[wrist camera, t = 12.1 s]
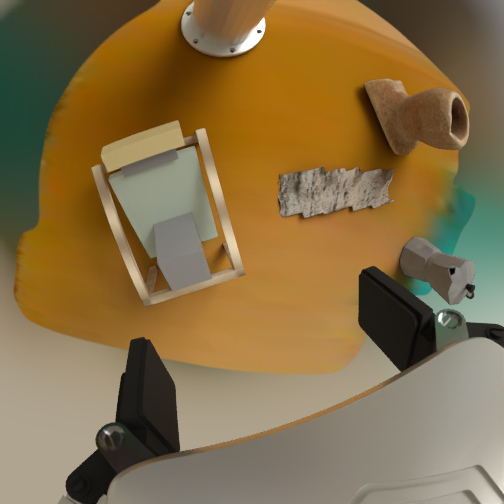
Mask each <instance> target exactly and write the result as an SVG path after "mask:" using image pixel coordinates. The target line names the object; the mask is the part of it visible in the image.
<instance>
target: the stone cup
mask: <svg viewBox="0 0 504 504" xmlns="http://www.w3.org/2000/svg"><path fill="white" fill-rule="evenodd" d="M364 85H365V88H366V91H367V93H368V96H369V98H370V100H371V103H372V105H373V108H374V110H375V112H376V114H377V117H378V119H379V122H380V124H381V127H382V129H383V131H384V134H385V136H386V138H387V140H388V143H389V145H390V147H391V149H392V150H393V152H394V153H395V154H397V155H404V154H407V153H409V152H411V151H412V150H414V149H415V148H416V146H417V145H418V143H419V141H421V142H424V143H425V144H428V145H430V146H432V147H435V148H439V149H446V150H459V149H461V148H462V147H463V146H464V145H465V144H466V142H467V139H468V135H469V119H468V114H467V110H466V107H465V104H464V102H463V100H462V98H461V97H460V96H459V95H458V93H456V92H455V91H452V90H449V89H443V88H434V89H430V90H427V91H424V92H421V93H418V94H416V95H412V96H409V95H408V94H407V93H406V90H405V88H404V86H403V84H402V82H401V81H399V80H398V81H393V80H389V79H378V80H372V81H368V82H366V83H364Z"/></svg>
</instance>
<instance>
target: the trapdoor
mask: <svg viewBox="0 0 504 504" xmlns="http://www.w3.org/2000/svg"><path fill="white" fill-rule="evenodd" d="M184 145H185V143H184V139H183V135H182V131H181V128H180V124H179V121H178V120H177V121H173V122H170V123H167V124H164V125H161V126H158V127H155V128H152V129H149V130H146V131H143V132H140V133H137V134H135V135H132V136H129V137H126V138H124V139H121V140H119V141H116V142H114V143H111V144H109V145H106V146H104V147H103V149H102V152H101V158H102V160H103V163H104V165H105V167H106V169H107V171H108V172H110V171H113V170H115V169H118V168H121V171H119V172H116V173H114V174H111V175H109V182H110V184H111V186H112V188H113V190H114V192H115V194H116V196H117V198H118V200H119V202H120V204H121V206H122V208H123V210H124V212H125V214H126V215H127V217H128V219H129V221H130V223H131V225H132V227H133V228H134V230H135V232H136V234H137V236H138V237H139V239H140V241H141V243H142V244H143V246H144V248H145V250H146V251H147V253H148V255H149V257H150V258H154V257H157V253H156V243H155V232H154V224H156V223H159V222H162V221H165V220H168V219H171V218H174V217H177V216H180V215H183V214H186V213H189V212H192V214H193V217H194V220H195V223H196V226H197V229H198V232H199V235H200V238H201V241H202V242H203V241H206V240H209V239H212V238H216V237H218V234H217V230H216V226H215V223H214V219H213V215H212V211H211V207H210V204H209V200H208V196H207V192H206V188H205V184H204V180H203V176H202V172H201V168H200V164H199V160H198V156H197V152H196V149H195V146H192V147H188V148H185V149H182V150H179V151H176V148H178V147H181V146H184Z"/></svg>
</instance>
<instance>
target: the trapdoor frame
mask: <svg viewBox="0 0 504 504" xmlns="http://www.w3.org/2000/svg"><path fill="white" fill-rule="evenodd" d="M183 139H184V143H185V145H184V146H186V145H189V144H193V143H194V144H195V143H199V147H200V151H201V154H202V158H203V162H204V165H205V169H206V173H207V176H208V180H209V183H210V187H211V191H212V194H213V198H214V201H215V205H216V208H217V212H218V215H219V219H220V222H221V226H222V229H223V232H224V236H225V239H226V242H225V243H223V246H224V249H225V251H226V253H227V256H228V258H229V260H230V262H231V265H232V268H229V269H226V270H223V271H220V272H217V273H214V274H211V276H212V279H210V280H207V281H204V282H201V283H198V284H194V285H191V286H188V287H185V288H182V289H179V290H176V291H172V289H171V287H170V288H167V289H164V290H161V291H158V292H154V290H155V284H156V278H157V272H158V270H157V268H156V265H154V266H151V267H150V268H149V272H148V276H147V280H146V284H145V282H144V280H143V278H142V275H141V273H140V271H139V268H138V266H137V264H136V261H135V259H134V256H133V254H132V251H131V249H130V246H129V244H128V241H127V238H126V236H125V233H124V230H123V228H122V225H121V222H120V220H119V217H118V214H117V211H116V208H115V205H114V202H113V199H112V196H111V193H110V190H109V187H108V184H107V180H106V177H105V174H104V173H108V171H107V169H106V167H105V165H104V164H99V165H96V166H94V167H92V168H91V169H92V172H93V175H94V179H95V182H96V185H97V188H98V192H99V195H100V198H101V201H102V204H103V207H104V210H105V212H106V215H107V218H108V221H109V224H110V226H111V229H112V232H113V234H114V237H115V239H116V242H117V245H118V247H119V250H120V252H121V255H122V257H123V259H124V262H125V264H126V267H127V269H128V271H129V273H130V276H131V278H132V280H133V282H134V285H135V287H136V289H137V291H138V293H139V296H140V298H141V300H142V302H143V304H144V306H145V307H146V306H149V305H153V304H156V303H159V302H162V301H166V300H169V299H172V298H175V297H178V296H181V295H185V294H188V293H191V292H194V291H197V290H200V289H203V288H206V287H210V286H213V285H216V284H219V283H222V282H225V281H228V280H231V279H234V278H237V277H240V276H243V275H245V272H244V269H243V265H242V262H241V258H240V255H239V251H238V247H237V244H236V240H235V237H234V233H233V230H232V226H231V222H230V219H229V215H228V212H227V208H226V204H225V201H224V197H223V193H222V190H221V186H220V182H219V179H218V175H217V171H216V168H215V164H214V160H213V157H212V153H211V149H210V145H209V142H208V138H207V134H206V130H205V128H203V129H199V130H196V131H195V133H194V135H193V136H189V137H186V138H183ZM181 147H183V146H181ZM178 148H179V147H178ZM118 169H121V168H118ZM118 169H115V170H113V171H116V170H118ZM110 172H112V171H110Z"/></svg>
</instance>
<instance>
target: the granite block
mask: <svg viewBox="0 0 504 504" xmlns="http://www.w3.org/2000/svg"><path fill="white" fill-rule="evenodd" d="M154 232H155V243H156V253H157V263H158V266H159V268H160V270H161V271H162V273H163V275H164V277H165V279H166V280H167V282H168V284H169V286H170V287H171V289H172V291H176V290H179V289H182V288H185V287H188V286H191V285H194V284H198V283H201V282H204V281H207V280H210V279H212V276H211V272H210V269H209V266H208V262H207V259H206V255H205V252H204V248H203V245H202V241H201V238H200V235H199V232H198V229H197V226H196V223H195V220H194V217H193V214H192V212H189V213H186V214H183V215H180V216H177V217H174V218H171V219H168V220H165V221H162V222H159V223H156V224H154Z"/></svg>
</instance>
